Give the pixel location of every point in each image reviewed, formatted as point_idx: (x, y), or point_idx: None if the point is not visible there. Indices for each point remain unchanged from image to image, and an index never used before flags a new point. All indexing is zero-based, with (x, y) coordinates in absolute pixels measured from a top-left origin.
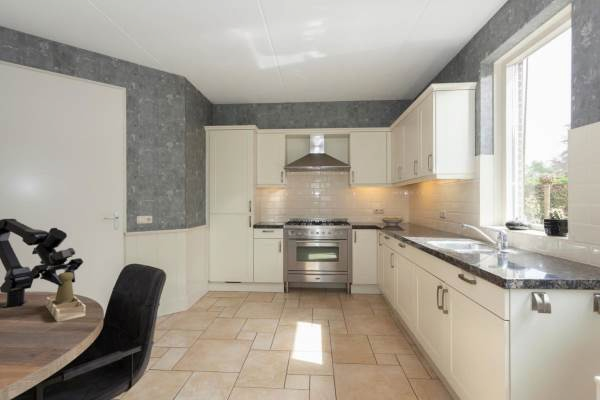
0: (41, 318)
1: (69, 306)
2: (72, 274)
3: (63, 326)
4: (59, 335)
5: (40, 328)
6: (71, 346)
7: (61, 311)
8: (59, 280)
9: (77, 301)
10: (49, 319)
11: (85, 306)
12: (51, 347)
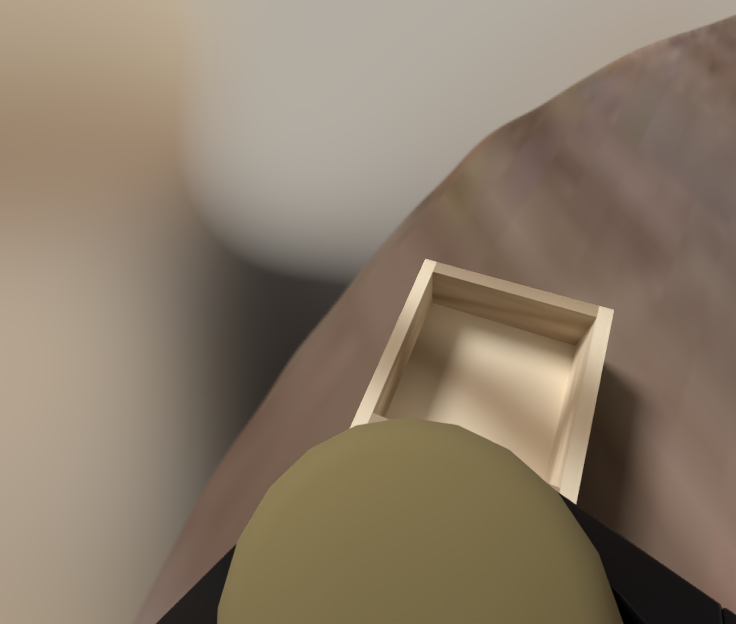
0: None
1: None
2: (315, 446)
3: (591, 248)
4: (654, 162)
5: (700, 329)
6: (659, 53)
7: (582, 307)
8: (599, 536)
9: (378, 420)
10: (597, 456)
11: (425, 263)
12: (720, 88)
